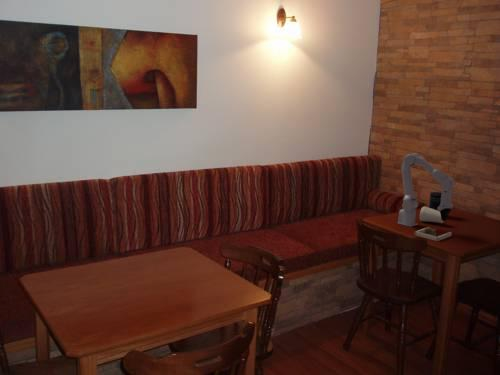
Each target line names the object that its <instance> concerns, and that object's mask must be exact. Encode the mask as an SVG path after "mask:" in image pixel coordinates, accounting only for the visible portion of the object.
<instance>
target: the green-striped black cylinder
mask: <svg viewBox="0 0 500 375" xmlns="http://www.w3.org/2000/svg"><path fill="white" fill-rule="evenodd" d="M429 194H430V196H429V205H428V207H429V208H431V209H434V210H437V209H438V207H439V206H440V203H441V194H442V192H439V191H433V192H432V191H431V192H430V193H429ZM437 211H439V210H437Z"/></svg>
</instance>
